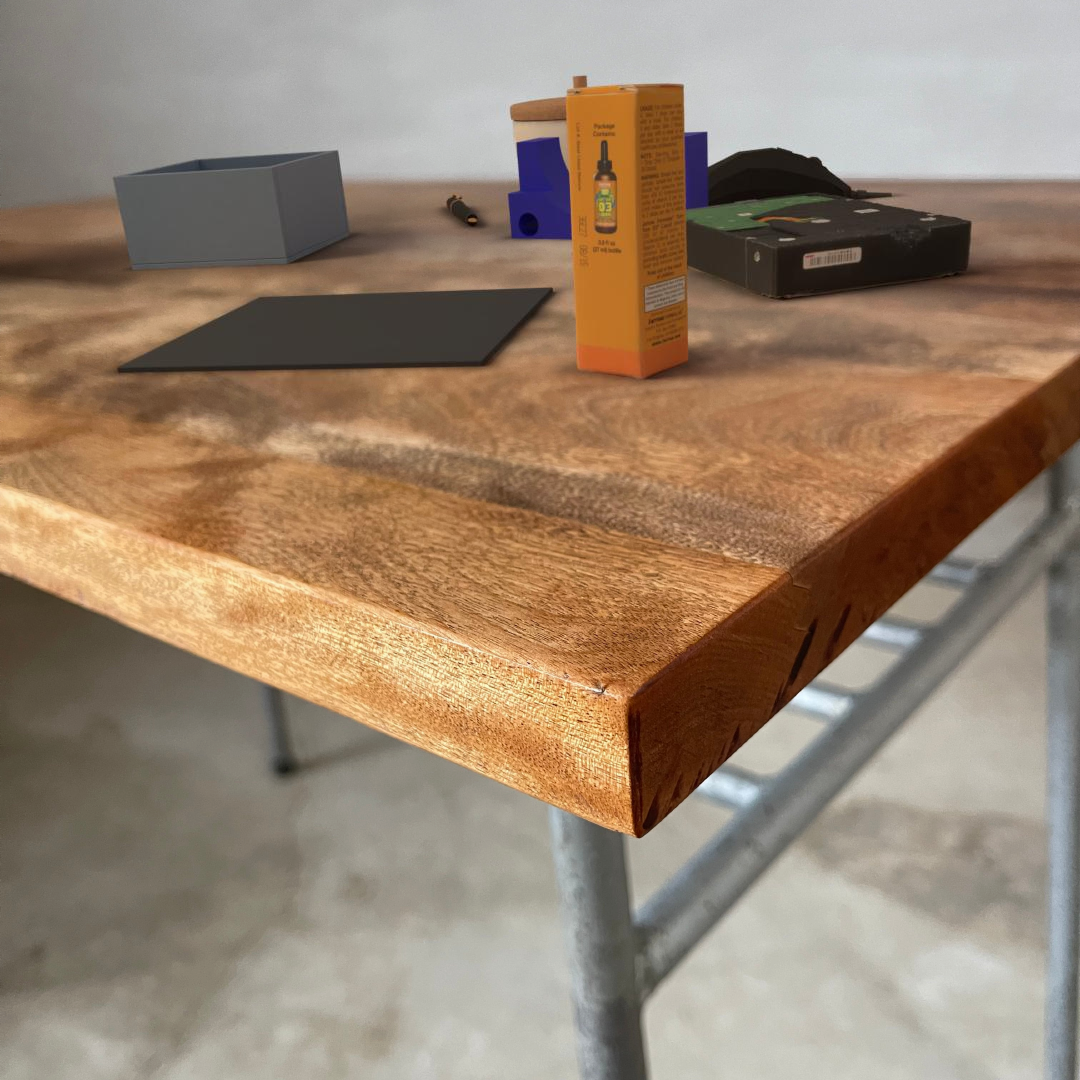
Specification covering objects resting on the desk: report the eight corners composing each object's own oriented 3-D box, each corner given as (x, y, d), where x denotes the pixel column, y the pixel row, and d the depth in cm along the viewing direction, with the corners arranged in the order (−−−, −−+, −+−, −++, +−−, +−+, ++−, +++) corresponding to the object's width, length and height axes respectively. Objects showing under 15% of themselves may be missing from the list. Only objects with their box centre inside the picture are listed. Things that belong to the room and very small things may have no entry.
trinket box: (498, 219, 83) (486, 84, 80) (543, 199, 93) (535, 77, 89) (637, 215, 80) (631, 74, 76) (670, 194, 89) (666, 67, 85)
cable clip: (511, 240, 73) (504, 144, 71) (545, 229, 77) (539, 137, 74) (679, 243, 67) (677, 138, 65) (708, 231, 71) (707, 131, 69)
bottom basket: (132, 272, 73) (112, 176, 71) (211, 243, 83) (195, 159, 80) (288, 266, 71) (272, 167, 68) (350, 237, 80) (338, 150, 78)
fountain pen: (484, 231, 78) (482, 209, 78) (468, 233, 78) (466, 211, 78) (457, 208, 91) (455, 189, 91) (443, 210, 91) (441, 191, 91)
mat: (118, 376, 47) (116, 367, 47) (260, 304, 60) (259, 296, 59) (482, 370, 44) (481, 360, 43) (553, 295, 56) (552, 287, 56)
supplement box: (697, 362, 42) (692, 78, 38) (643, 384, 40) (631, 85, 36) (628, 352, 45) (616, 82, 41) (572, 373, 42) (554, 89, 38)
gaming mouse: (903, 204, 75) (906, 141, 74) (683, 220, 76) (682, 158, 74) (879, 193, 81) (882, 135, 79) (675, 208, 82) (674, 150, 80)
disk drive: (973, 280, 53) (815, 237, 66) (979, 219, 51) (816, 187, 65) (774, 309, 50) (651, 258, 63) (775, 246, 49) (649, 207, 62)
